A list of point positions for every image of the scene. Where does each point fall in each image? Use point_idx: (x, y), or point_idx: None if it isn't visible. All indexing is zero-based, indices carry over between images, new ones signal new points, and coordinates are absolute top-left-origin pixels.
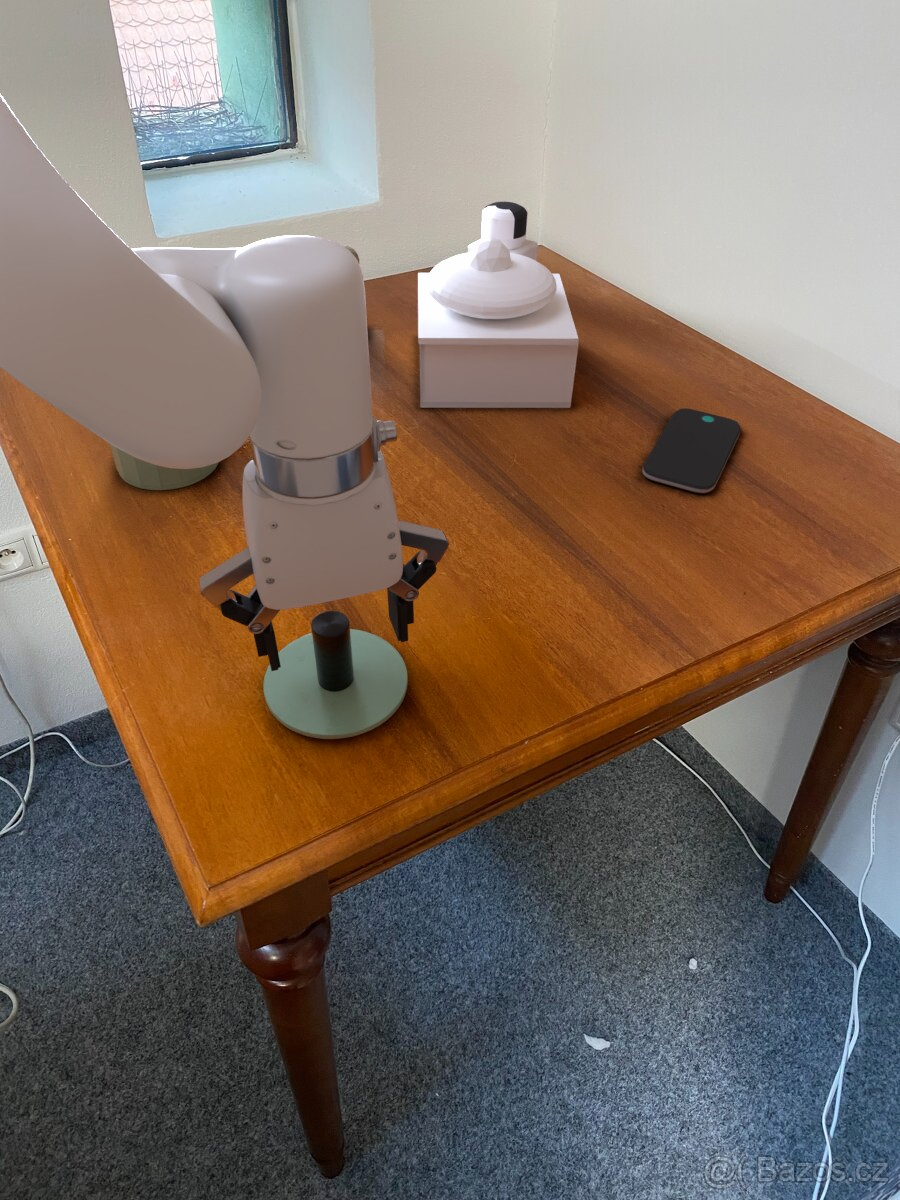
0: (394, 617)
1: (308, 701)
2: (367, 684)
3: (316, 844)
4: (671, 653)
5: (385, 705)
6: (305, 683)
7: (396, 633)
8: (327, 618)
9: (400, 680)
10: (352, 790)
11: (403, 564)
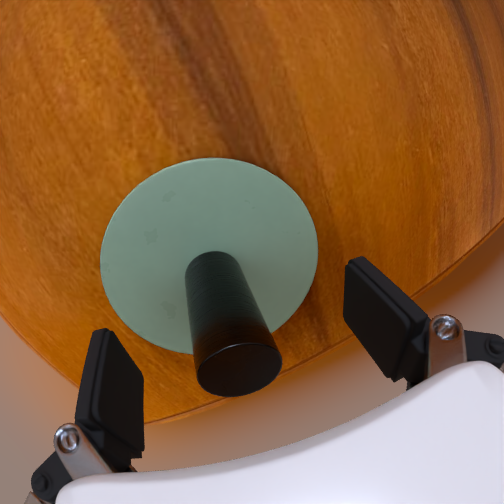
0: (364, 325)
1: (175, 315)
2: (260, 284)
3: (204, 408)
4: (486, 223)
5: (280, 315)
6: (166, 286)
7: (347, 313)
8: (234, 363)
9: (306, 277)
10: None
11: (463, 340)
